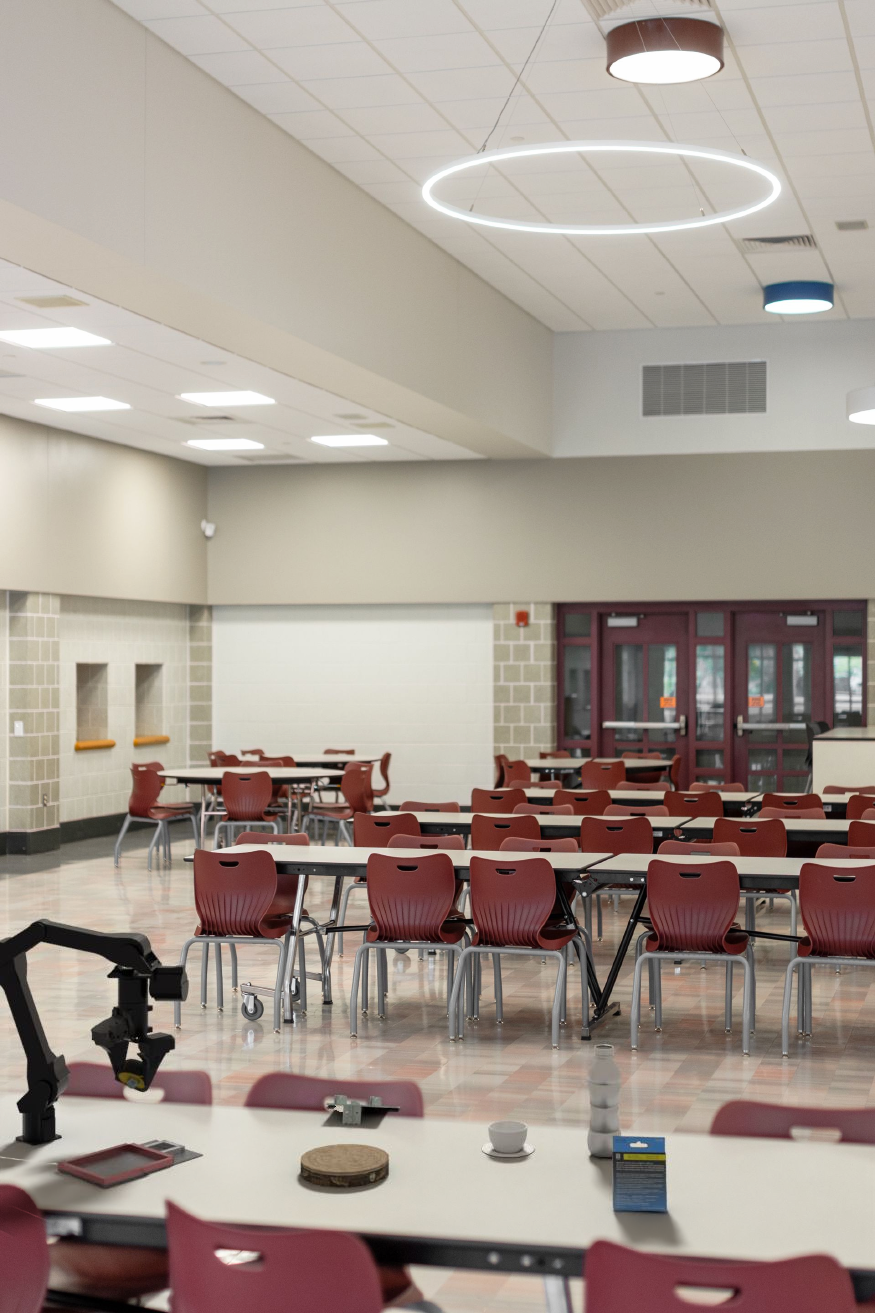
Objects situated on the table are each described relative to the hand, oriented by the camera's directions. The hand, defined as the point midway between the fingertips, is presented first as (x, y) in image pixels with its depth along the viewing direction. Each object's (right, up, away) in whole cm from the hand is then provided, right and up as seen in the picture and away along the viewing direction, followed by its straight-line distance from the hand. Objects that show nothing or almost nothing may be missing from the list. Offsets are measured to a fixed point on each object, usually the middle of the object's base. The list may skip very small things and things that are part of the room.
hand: (132, 1083), depth 280 cm
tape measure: (0, -2, 0) cm, 2 cm away
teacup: (+72, -11, -6) cm, 73 cm away
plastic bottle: (+89, -11, -10) cm, 90 cm away
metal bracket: (+50, -10, +15) cm, 53 cm away
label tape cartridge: (+92, -10, -37) cm, 100 cm away
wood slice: (+42, -11, -18) cm, 47 cm away
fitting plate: (+2, -11, -13) cm, 17 cm away
